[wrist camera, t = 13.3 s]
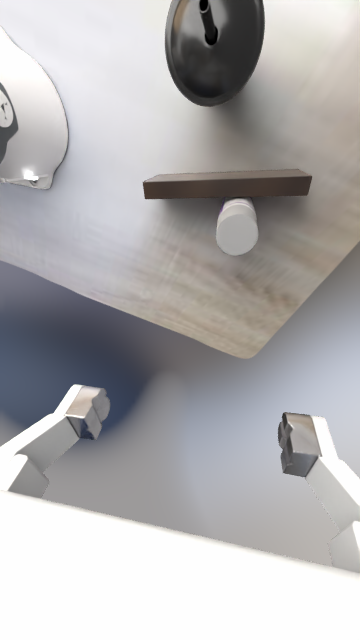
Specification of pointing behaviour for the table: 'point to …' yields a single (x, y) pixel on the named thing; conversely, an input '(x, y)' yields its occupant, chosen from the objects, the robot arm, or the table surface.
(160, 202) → the table surface
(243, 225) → the container
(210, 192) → the bar
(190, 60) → the drinking cup
